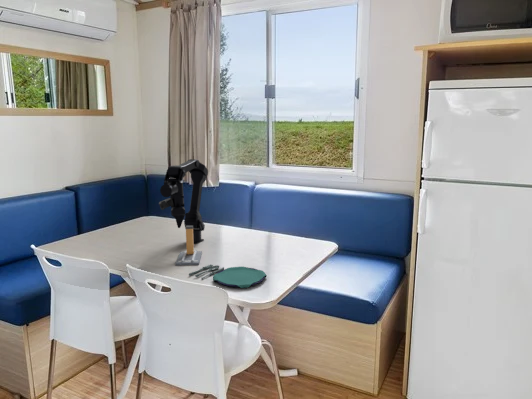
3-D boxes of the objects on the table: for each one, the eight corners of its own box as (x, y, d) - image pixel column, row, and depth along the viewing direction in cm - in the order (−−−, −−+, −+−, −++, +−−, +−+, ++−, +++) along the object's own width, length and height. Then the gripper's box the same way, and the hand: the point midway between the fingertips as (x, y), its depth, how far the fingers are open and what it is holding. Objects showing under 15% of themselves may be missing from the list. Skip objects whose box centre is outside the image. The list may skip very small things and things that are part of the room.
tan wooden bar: (187, 252, 191) (186, 225, 188) (194, 252, 191) (193, 225, 189) (186, 254, 189) (185, 226, 186) (193, 254, 189) (192, 226, 186)
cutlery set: (246, 294, 149) (246, 288, 148) (184, 278, 164) (184, 273, 164) (274, 277, 166) (274, 271, 165) (215, 264, 181) (215, 259, 181)
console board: (180, 253, 194) (180, 250, 193) (202, 253, 194) (201, 249, 194) (175, 265, 178) (175, 261, 178) (199, 264, 179) (198, 260, 178)
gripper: (159, 190, 199) (161, 221, 202) (158, 197, 181) (160, 231, 184) (183, 188, 201) (185, 219, 205) (184, 196, 183) (186, 230, 187)
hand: (178, 225), depth 195 cm, fingers open, 9 cm apart
